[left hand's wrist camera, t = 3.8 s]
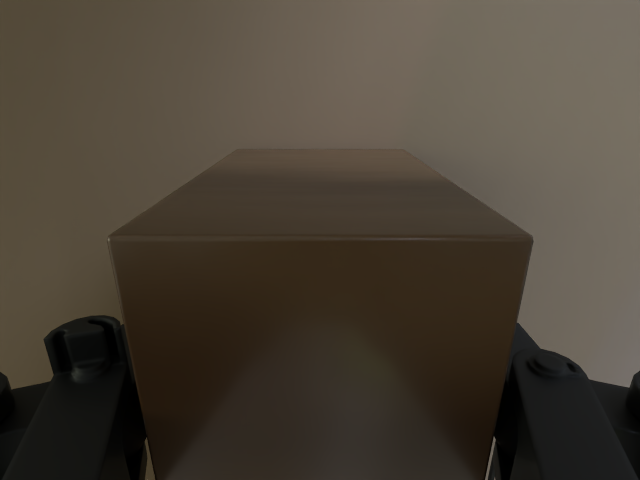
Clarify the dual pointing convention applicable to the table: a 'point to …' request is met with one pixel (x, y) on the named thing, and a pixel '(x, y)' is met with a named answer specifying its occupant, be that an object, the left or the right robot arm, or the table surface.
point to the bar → (320, 319)
